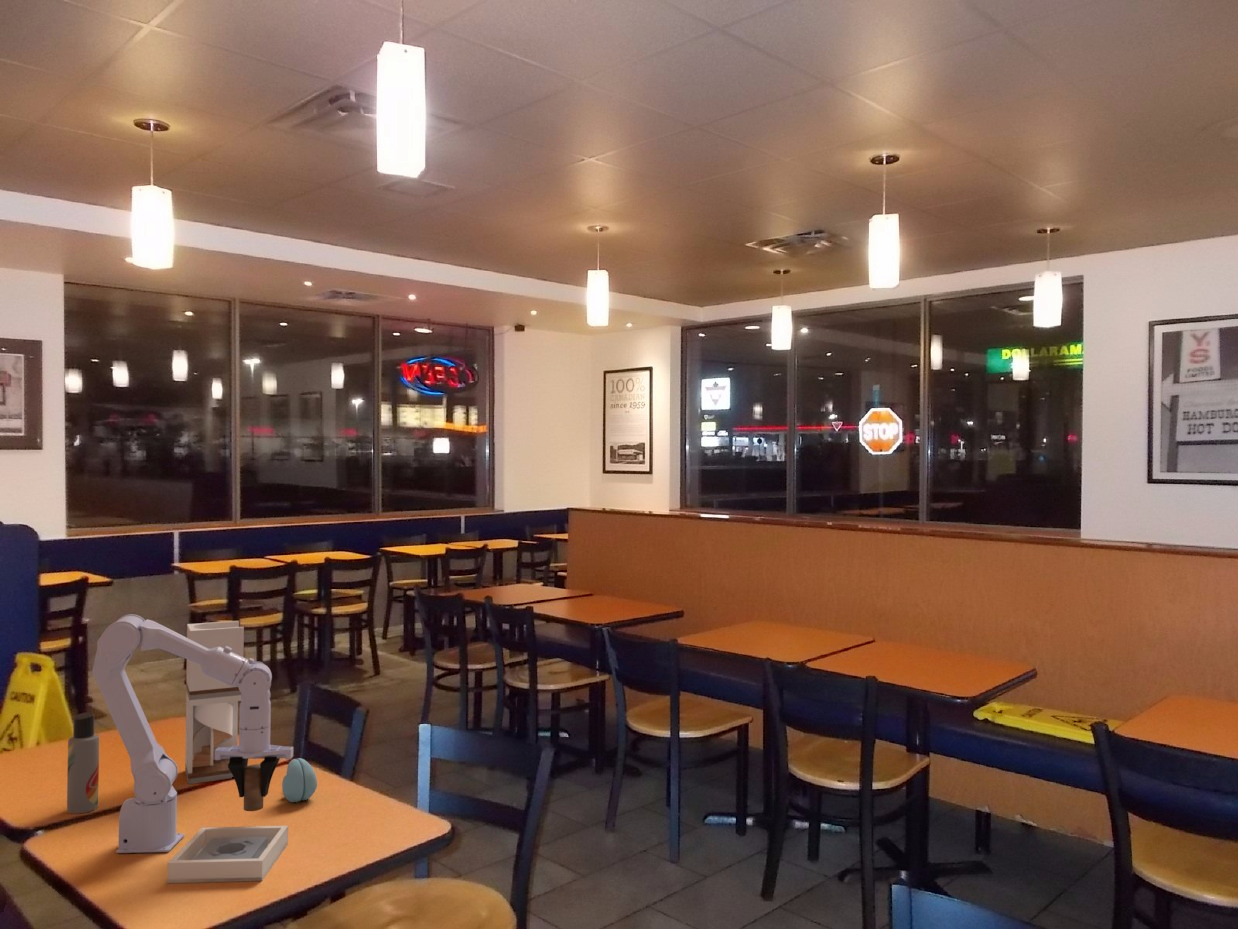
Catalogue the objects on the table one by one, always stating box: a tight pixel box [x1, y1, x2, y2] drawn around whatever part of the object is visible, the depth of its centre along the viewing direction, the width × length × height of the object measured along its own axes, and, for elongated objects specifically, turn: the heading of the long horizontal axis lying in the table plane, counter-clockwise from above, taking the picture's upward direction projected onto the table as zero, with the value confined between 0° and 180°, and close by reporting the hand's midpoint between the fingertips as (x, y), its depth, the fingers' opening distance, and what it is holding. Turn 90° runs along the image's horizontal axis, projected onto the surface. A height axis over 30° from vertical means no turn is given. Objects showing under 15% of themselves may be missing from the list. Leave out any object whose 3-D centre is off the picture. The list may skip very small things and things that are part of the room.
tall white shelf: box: [184, 620, 245, 785], centre depth 216 cm, size 11×11×35 cm
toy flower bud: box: [281, 757, 318, 803], centre depth 201 cm, size 7×9×12 cm
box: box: [167, 825, 289, 884], centre depth 167 cm, size 16×16×4 cm
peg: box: [243, 763, 264, 812], centre depth 180 cm, size 4×4×8 cm
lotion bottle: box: [66, 712, 100, 815], centre depth 193 cm, size 6×6×20 cm
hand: (253, 795), depth 180 cm, fingers closed on peg, 4 cm apart
